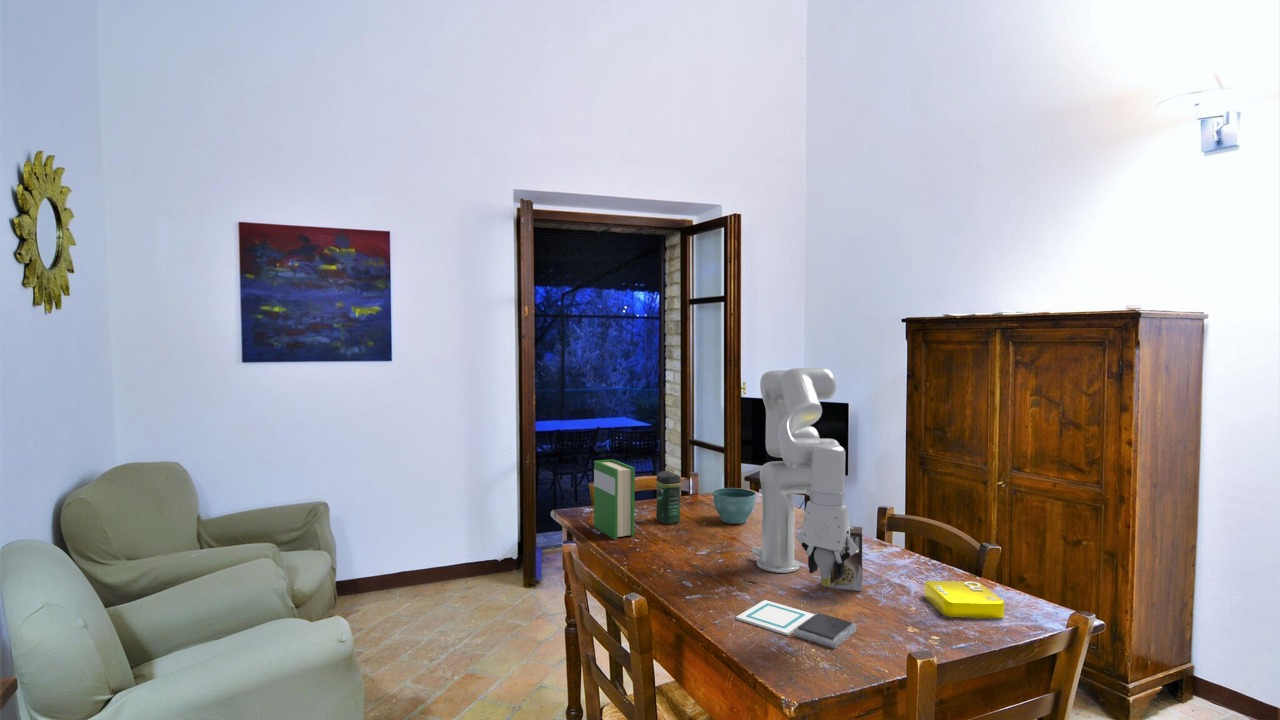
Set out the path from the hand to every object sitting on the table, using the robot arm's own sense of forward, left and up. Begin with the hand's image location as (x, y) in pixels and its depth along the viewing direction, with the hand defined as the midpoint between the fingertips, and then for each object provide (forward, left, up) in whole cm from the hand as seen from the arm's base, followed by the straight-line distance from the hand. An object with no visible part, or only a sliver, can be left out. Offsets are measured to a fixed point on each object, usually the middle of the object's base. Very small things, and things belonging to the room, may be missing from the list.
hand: (825, 574), depth 157 cm
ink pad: (0, 0, -14) cm, 14 cm away
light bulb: (0, 0, -3) cm, 3 cm away
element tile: (+20, +38, -14) cm, 45 cm away
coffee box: (-9, +32, -14) cm, 36 cm away
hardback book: (-92, +27, -14) cm, 97 cm away
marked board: (-13, 0, -14) cm, 19 cm away
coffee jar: (-86, +51, -14) cm, 100 cm away
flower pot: (-68, +68, -14) cm, 97 cm away
